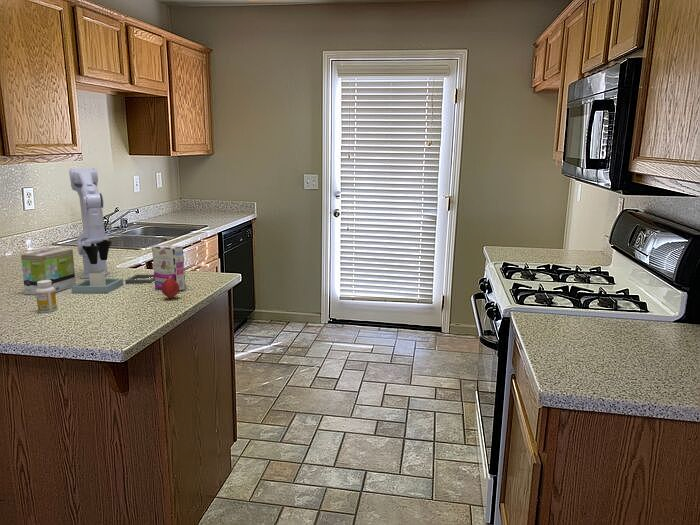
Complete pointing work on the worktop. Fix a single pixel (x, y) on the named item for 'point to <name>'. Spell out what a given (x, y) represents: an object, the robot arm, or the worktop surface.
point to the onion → (170, 288)
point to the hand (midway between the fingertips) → (99, 262)
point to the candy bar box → (168, 265)
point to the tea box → (48, 269)
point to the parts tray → (86, 288)
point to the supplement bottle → (45, 296)
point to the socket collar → (132, 280)
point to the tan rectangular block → (97, 277)
